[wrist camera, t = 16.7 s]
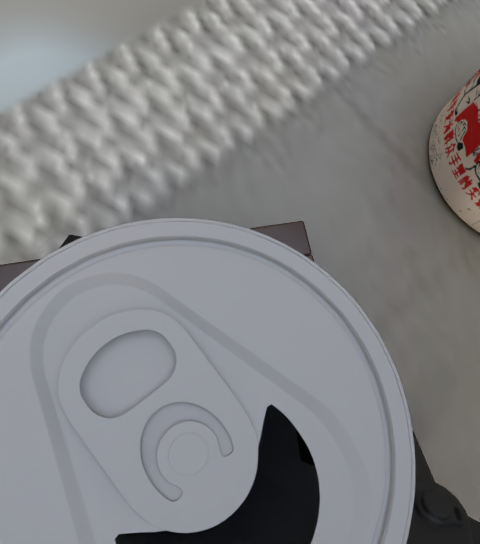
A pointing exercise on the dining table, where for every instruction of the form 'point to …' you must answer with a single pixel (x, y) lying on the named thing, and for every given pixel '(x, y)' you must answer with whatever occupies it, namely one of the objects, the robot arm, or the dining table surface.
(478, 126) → the teacup with lid
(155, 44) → the dining table surface
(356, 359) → the beverage can
